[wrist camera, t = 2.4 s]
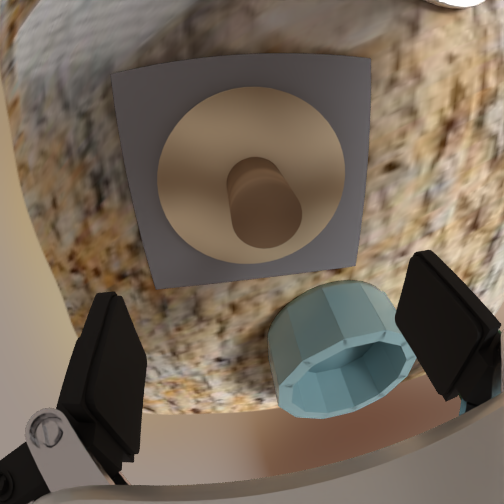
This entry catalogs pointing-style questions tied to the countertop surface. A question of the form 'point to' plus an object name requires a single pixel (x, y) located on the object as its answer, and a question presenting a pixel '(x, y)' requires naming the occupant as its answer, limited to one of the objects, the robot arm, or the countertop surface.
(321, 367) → the bowl
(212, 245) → the lid
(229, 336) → the countertop surface
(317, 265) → the mat
